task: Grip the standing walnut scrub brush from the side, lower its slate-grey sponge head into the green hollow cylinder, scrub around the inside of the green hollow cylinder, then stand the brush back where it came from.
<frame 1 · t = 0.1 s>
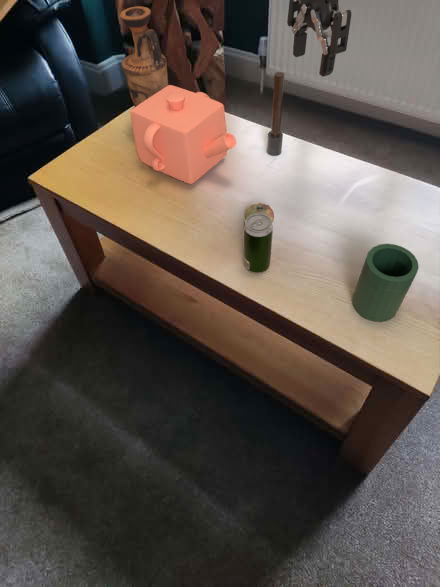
hand: (311, 64, 77), 30 cm above the table, tool pointing down, fingers open, 8 cm apart
brush: (274, 151, 112), on the table
vase: (156, 134, 119), on the table
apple: (260, 228, 95), on the table
green hollow cylinder: (374, 303, 82), on the table
teapot: (194, 168, 109), on the table
beer can: (256, 265, 89), on the table
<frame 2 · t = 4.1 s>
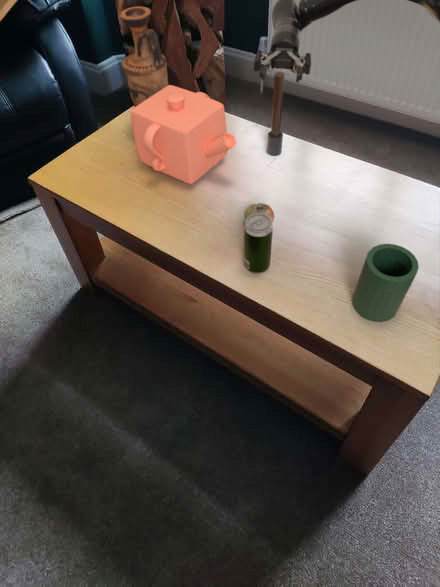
hand: (280, 77, 106), 14 cm above the table, tool horizontal, fingers open, 8 cm apart
nothing on the table moved.
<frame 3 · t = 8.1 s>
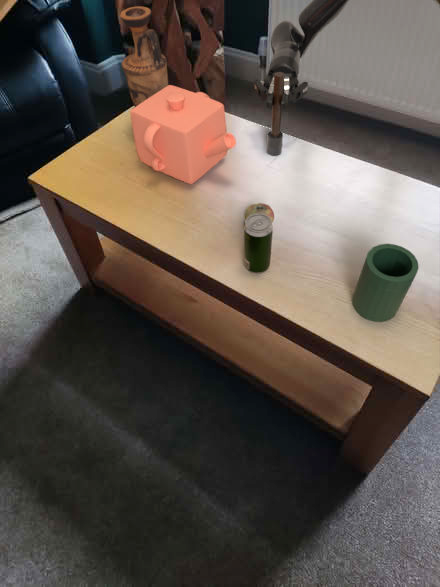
hand: (276, 106, 99), 14 cm above the table, tool horizontal, fingers closed on brush, 2 cm apart
brush: (274, 151, 112), on the table, touching gripper
everything else where it was.
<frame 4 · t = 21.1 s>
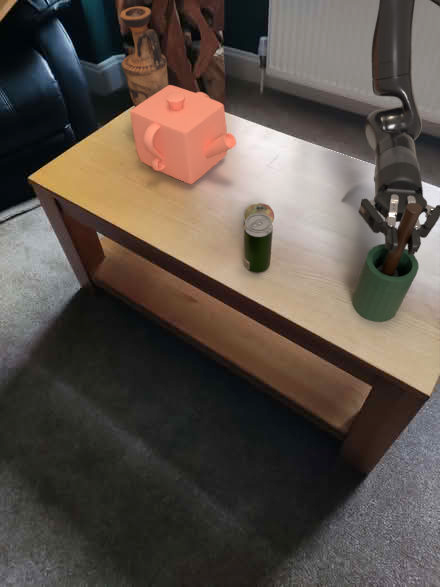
hand: (403, 250, 66), 18 cm above the table, tool horizontal, fingers closed on brush
brush: (379, 290, 79), point 4 cm above the table, touching gripper
everything else where it was.
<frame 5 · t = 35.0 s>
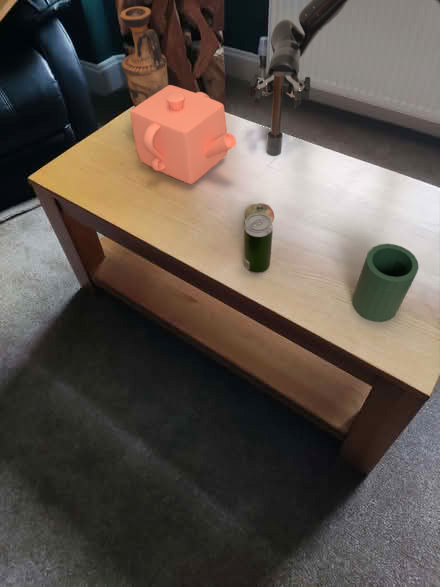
hand: (277, 102, 99), 14 cm above the table, tool horizontal, fingers open, 8 cm apart
brush: (273, 151, 112), on the table
everything else where it was.
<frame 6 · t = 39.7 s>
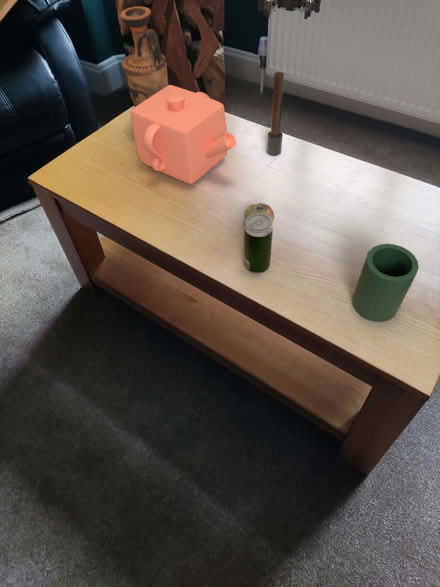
hand: (286, 13, 96), 28 cm above the table, tool horizontal, fingers open, 8 cm apart
nothing on the table moved.
at the end: brush tilted 0°; the gripper is holding nothing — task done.
